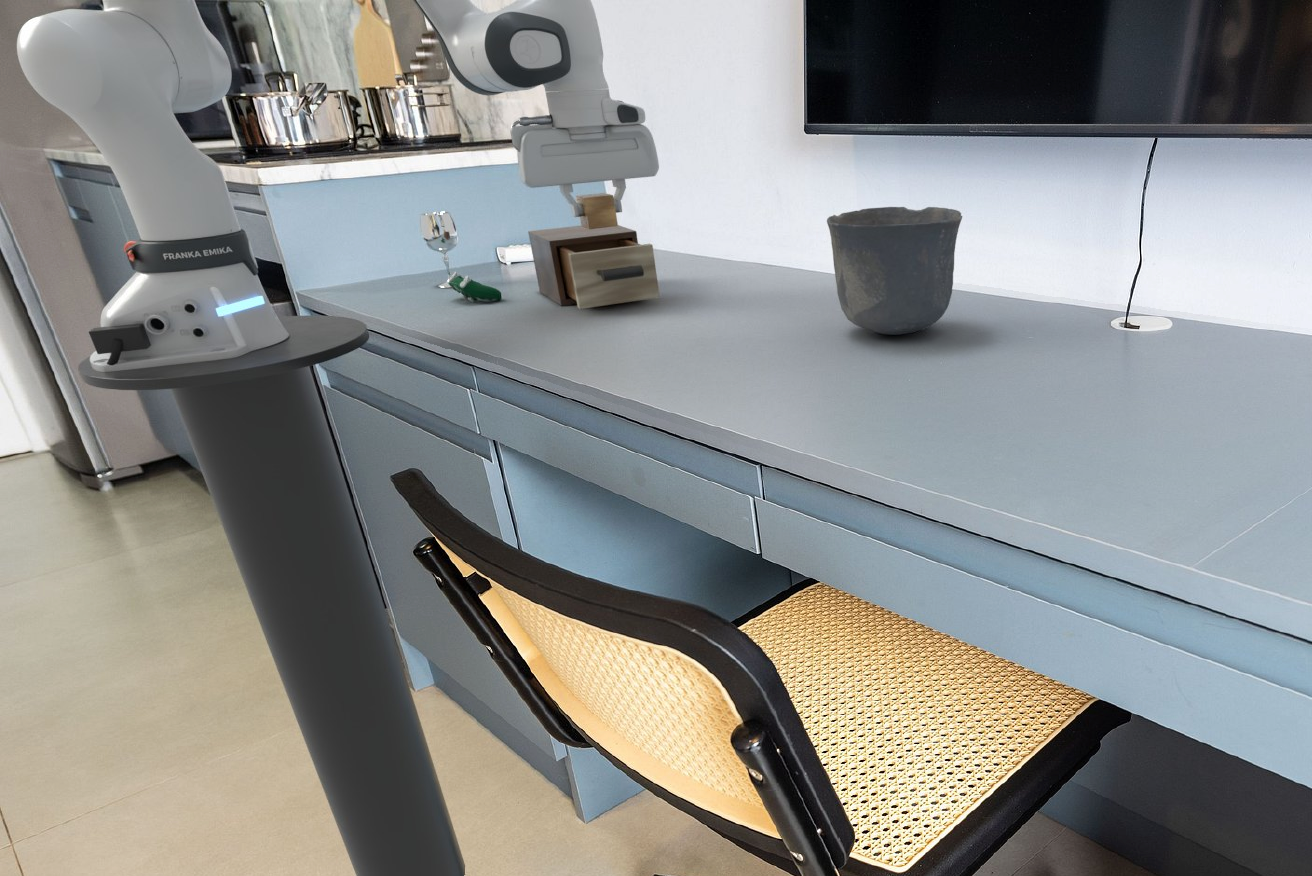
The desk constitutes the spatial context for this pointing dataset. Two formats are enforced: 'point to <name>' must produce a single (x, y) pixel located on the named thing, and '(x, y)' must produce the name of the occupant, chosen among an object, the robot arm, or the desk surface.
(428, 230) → the wineglass
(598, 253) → the drawer
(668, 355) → the desk surface
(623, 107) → the robot arm
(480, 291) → the green elongated toy
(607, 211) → the block
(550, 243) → the cabinet
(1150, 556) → the desk surface
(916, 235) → the cup
